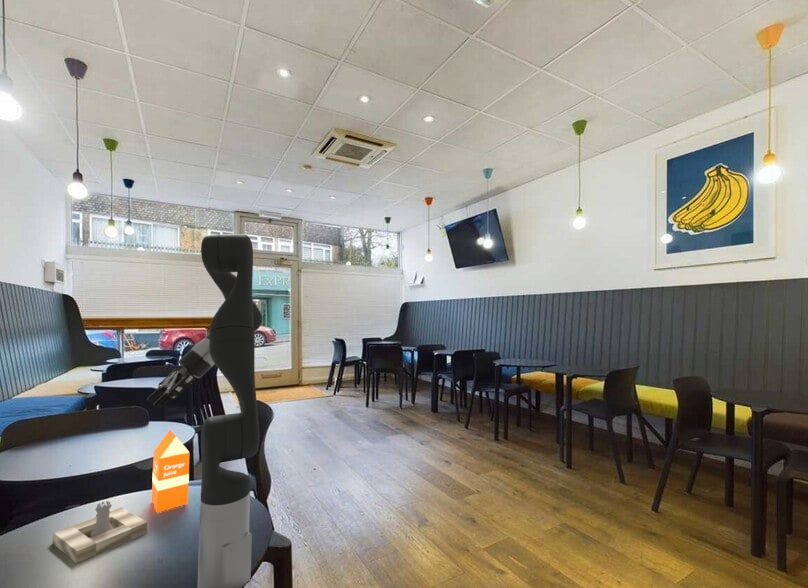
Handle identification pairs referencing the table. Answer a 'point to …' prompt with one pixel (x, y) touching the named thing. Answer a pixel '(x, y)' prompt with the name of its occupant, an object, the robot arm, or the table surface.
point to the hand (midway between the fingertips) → (152, 404)
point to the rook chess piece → (102, 519)
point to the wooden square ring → (83, 547)
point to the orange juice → (170, 474)
